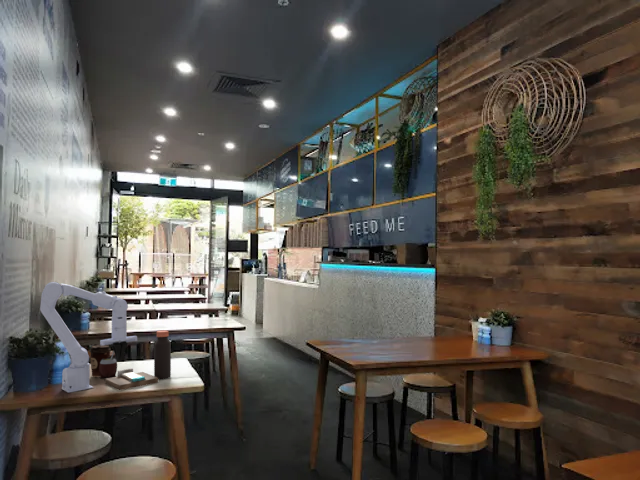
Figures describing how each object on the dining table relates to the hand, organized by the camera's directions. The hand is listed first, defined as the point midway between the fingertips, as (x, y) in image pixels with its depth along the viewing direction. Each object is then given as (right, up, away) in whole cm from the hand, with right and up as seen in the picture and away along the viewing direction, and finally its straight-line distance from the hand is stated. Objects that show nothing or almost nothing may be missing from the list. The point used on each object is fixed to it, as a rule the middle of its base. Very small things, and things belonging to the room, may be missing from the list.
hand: (118, 360), depth 200 cm
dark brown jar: (-14, -10, +12) cm, 21 cm away
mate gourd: (-8, -10, +9) cm, 16 cm away
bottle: (+15, -10, +9) cm, 20 cm away
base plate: (+5, -9, 0) cm, 11 cm away
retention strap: (+6, -7, 0) cm, 9 cm away
